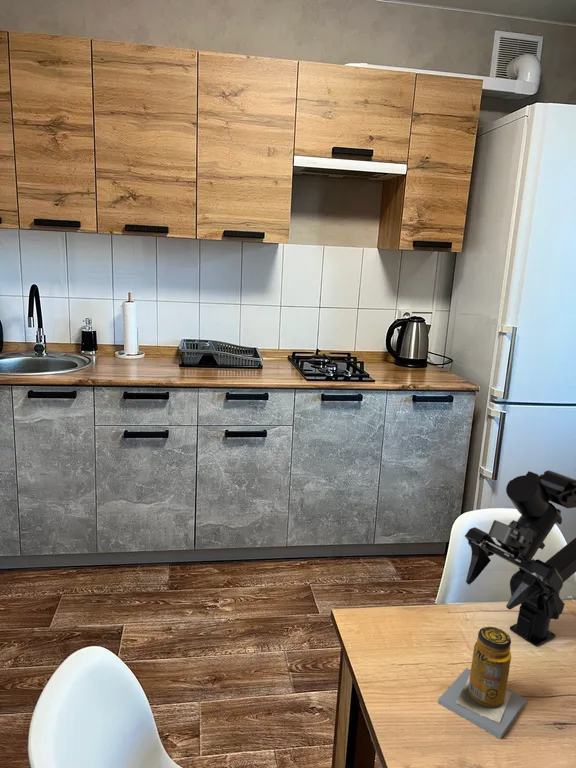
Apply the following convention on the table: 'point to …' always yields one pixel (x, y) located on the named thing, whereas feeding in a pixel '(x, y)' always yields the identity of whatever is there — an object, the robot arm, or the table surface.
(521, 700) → the coaster board
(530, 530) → the robot arm
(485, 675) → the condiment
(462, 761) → the table surface
